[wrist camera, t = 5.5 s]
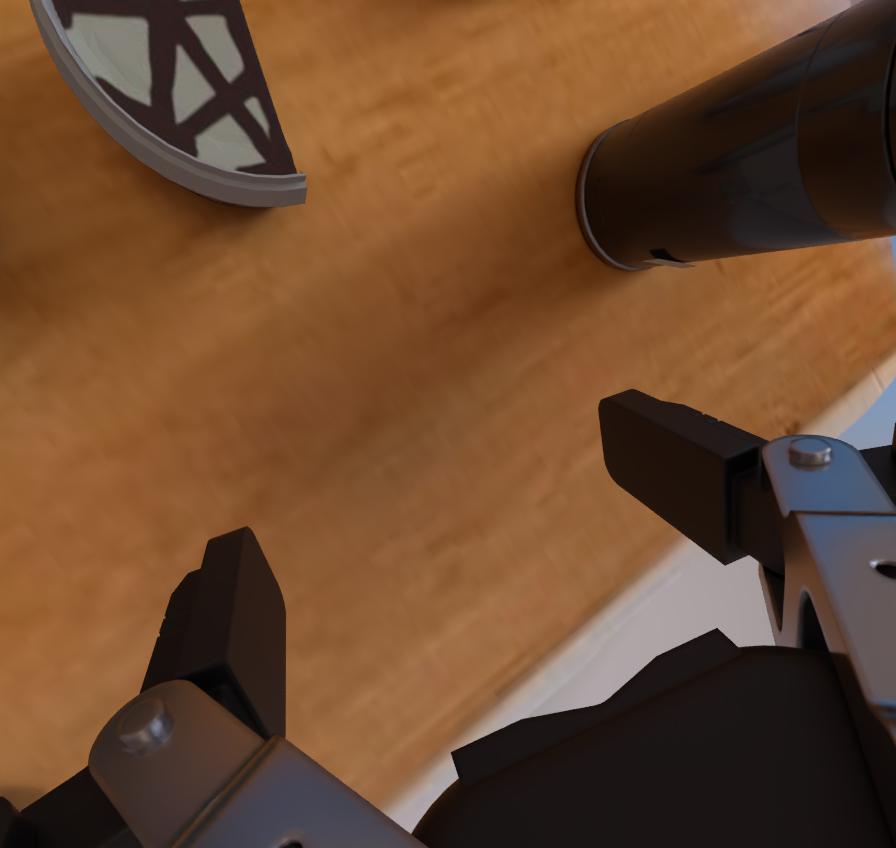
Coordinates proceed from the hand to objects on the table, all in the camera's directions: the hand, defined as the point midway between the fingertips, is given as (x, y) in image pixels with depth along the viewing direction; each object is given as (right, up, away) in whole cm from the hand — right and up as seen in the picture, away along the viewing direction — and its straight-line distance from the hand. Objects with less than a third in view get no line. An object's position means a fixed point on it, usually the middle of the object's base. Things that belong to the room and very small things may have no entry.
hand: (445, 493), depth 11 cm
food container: (-13, +16, +13) cm, 24 cm away
